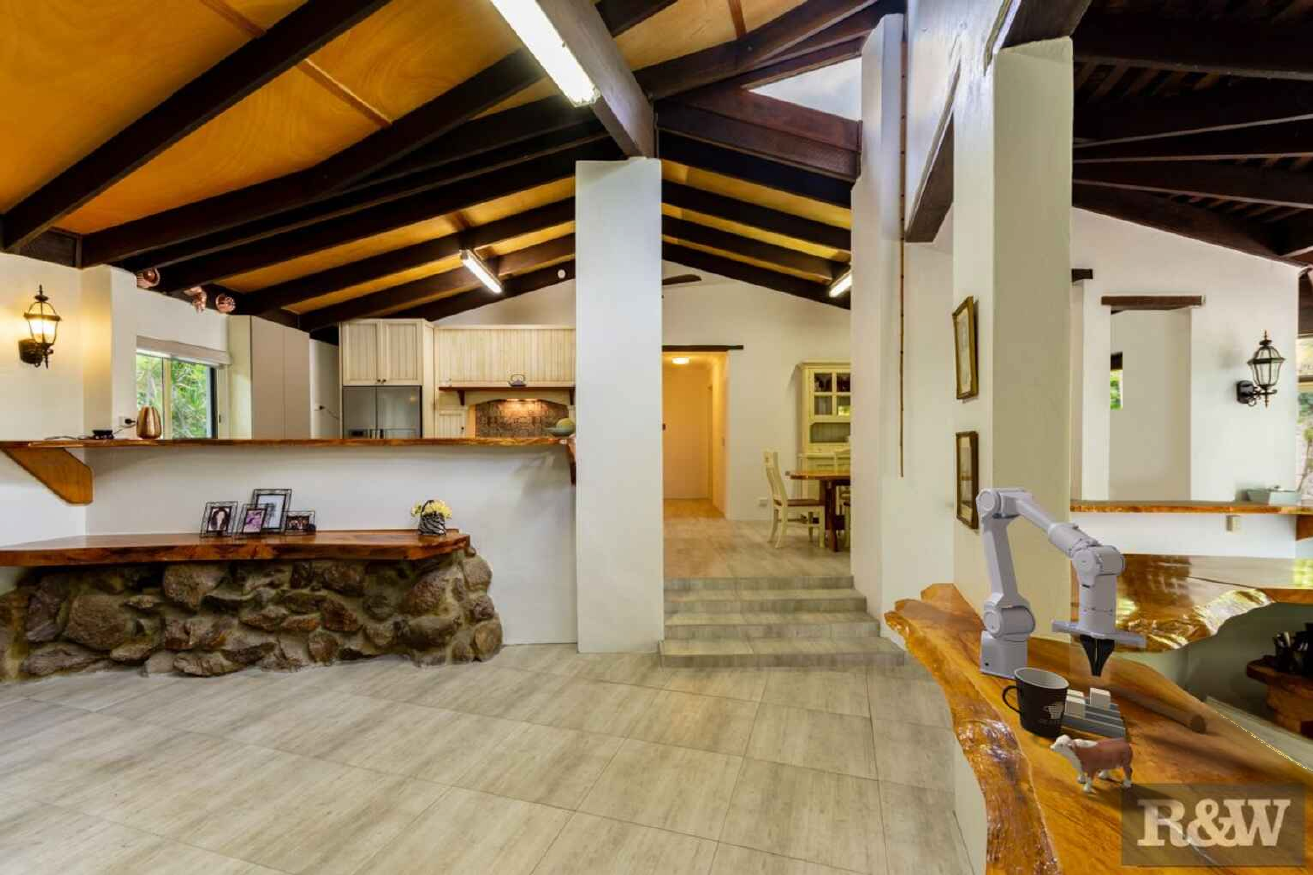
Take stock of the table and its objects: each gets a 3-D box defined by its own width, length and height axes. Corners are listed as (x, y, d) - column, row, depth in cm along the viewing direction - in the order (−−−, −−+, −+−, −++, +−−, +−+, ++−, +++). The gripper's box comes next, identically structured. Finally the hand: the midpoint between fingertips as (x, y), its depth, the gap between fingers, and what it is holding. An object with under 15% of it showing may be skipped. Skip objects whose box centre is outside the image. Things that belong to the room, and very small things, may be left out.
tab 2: (1065, 717, 108) (1066, 700, 107) (1065, 712, 109) (1065, 695, 109) (1085, 721, 106) (1085, 704, 106) (1084, 716, 108) (1084, 699, 108)
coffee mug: (1058, 721, 109) (1058, 671, 108) (1075, 745, 100) (1076, 691, 100) (991, 711, 112) (991, 663, 112) (1002, 733, 104) (1003, 681, 104)
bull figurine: (1044, 778, 91) (1045, 730, 91) (1119, 773, 92) (1120, 726, 92) (1066, 796, 87) (1067, 745, 87) (1144, 791, 88) (1145, 741, 88)
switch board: (1058, 724, 107) (1059, 712, 107) (1056, 701, 116) (1056, 690, 116) (1125, 741, 102) (1125, 728, 102) (1117, 715, 111) (1117, 704, 111)
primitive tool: (1097, 688, 123) (1097, 672, 123) (1117, 686, 124) (1117, 671, 124) (1193, 736, 104) (1194, 718, 104) (1217, 733, 105) (1217, 715, 105)
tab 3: (1090, 708, 111) (1091, 691, 111) (1090, 703, 113) (1090, 687, 113) (1110, 712, 109) (1110, 696, 109) (1108, 708, 111) (1109, 691, 111)
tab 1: (1064, 709, 110) (1065, 692, 110) (1064, 704, 112) (1064, 688, 112) (1083, 713, 109) (1084, 697, 109) (1082, 709, 110) (1083, 692, 110)
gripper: (1052, 605, 109) (1051, 672, 109) (1149, 620, 101) (1147, 692, 101) (1051, 596, 115) (1050, 660, 115) (1143, 609, 106) (1141, 678, 107)
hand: (1095, 674), depth 108 cm, fingers closed
